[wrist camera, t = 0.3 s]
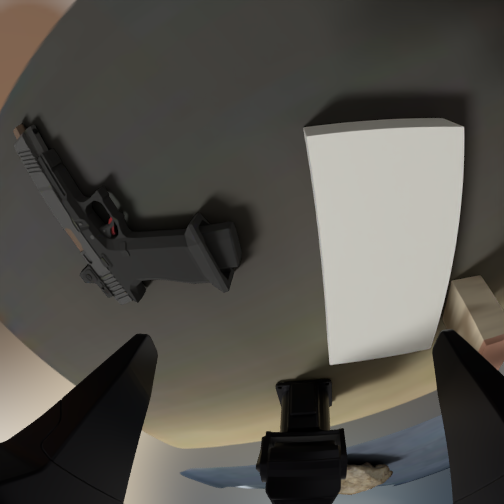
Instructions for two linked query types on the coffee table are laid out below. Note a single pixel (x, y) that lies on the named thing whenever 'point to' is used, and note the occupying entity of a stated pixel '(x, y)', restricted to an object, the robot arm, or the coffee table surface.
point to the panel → (385, 230)
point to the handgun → (127, 234)
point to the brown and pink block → (476, 317)
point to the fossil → (364, 477)
